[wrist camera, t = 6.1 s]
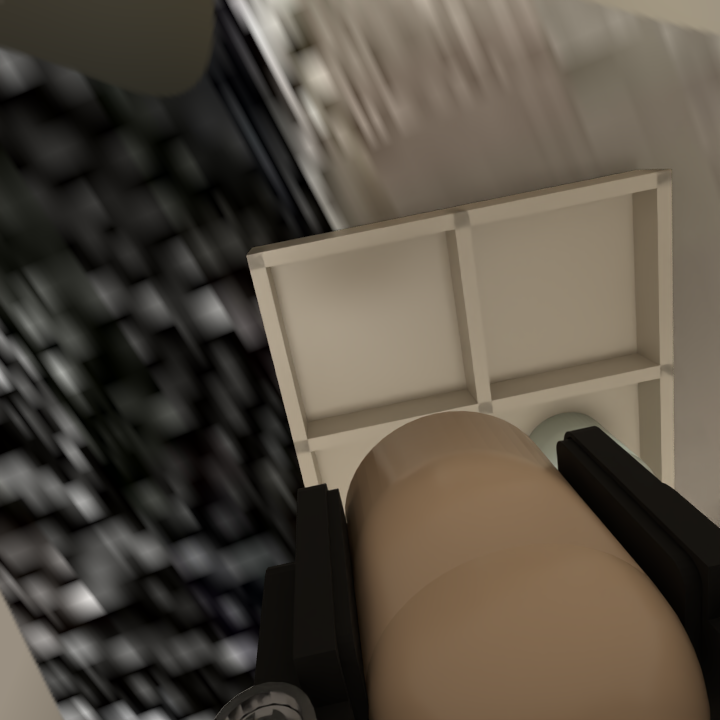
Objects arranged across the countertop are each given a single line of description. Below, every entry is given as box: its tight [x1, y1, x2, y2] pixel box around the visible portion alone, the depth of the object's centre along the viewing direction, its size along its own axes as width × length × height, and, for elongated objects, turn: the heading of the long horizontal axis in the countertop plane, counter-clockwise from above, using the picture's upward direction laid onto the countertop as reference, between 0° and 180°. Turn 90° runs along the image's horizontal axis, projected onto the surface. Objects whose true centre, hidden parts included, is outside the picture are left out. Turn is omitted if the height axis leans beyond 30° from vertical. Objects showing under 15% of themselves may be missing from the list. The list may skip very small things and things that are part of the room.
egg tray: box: [246, 169, 674, 514], centre depth 26 cm, size 17×17×2 cm
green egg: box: [529, 412, 656, 477], centre depth 25 cm, size 4×4×6 cm
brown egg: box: [345, 411, 711, 720], centre depth 8 cm, size 4×4×6 cm
